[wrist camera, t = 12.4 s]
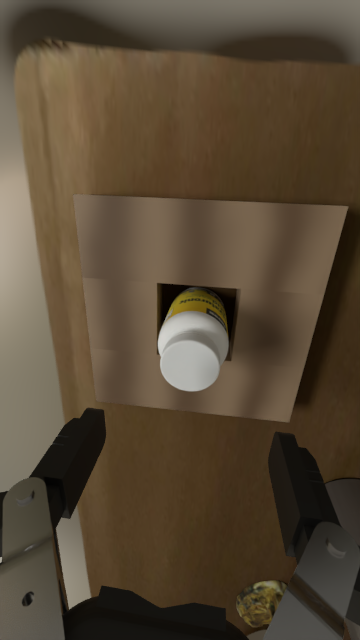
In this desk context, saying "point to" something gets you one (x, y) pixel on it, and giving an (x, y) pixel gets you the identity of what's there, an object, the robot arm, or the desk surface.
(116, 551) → the desk surface
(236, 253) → the socket board
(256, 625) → the noodle cake
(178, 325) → the supplement bottle
